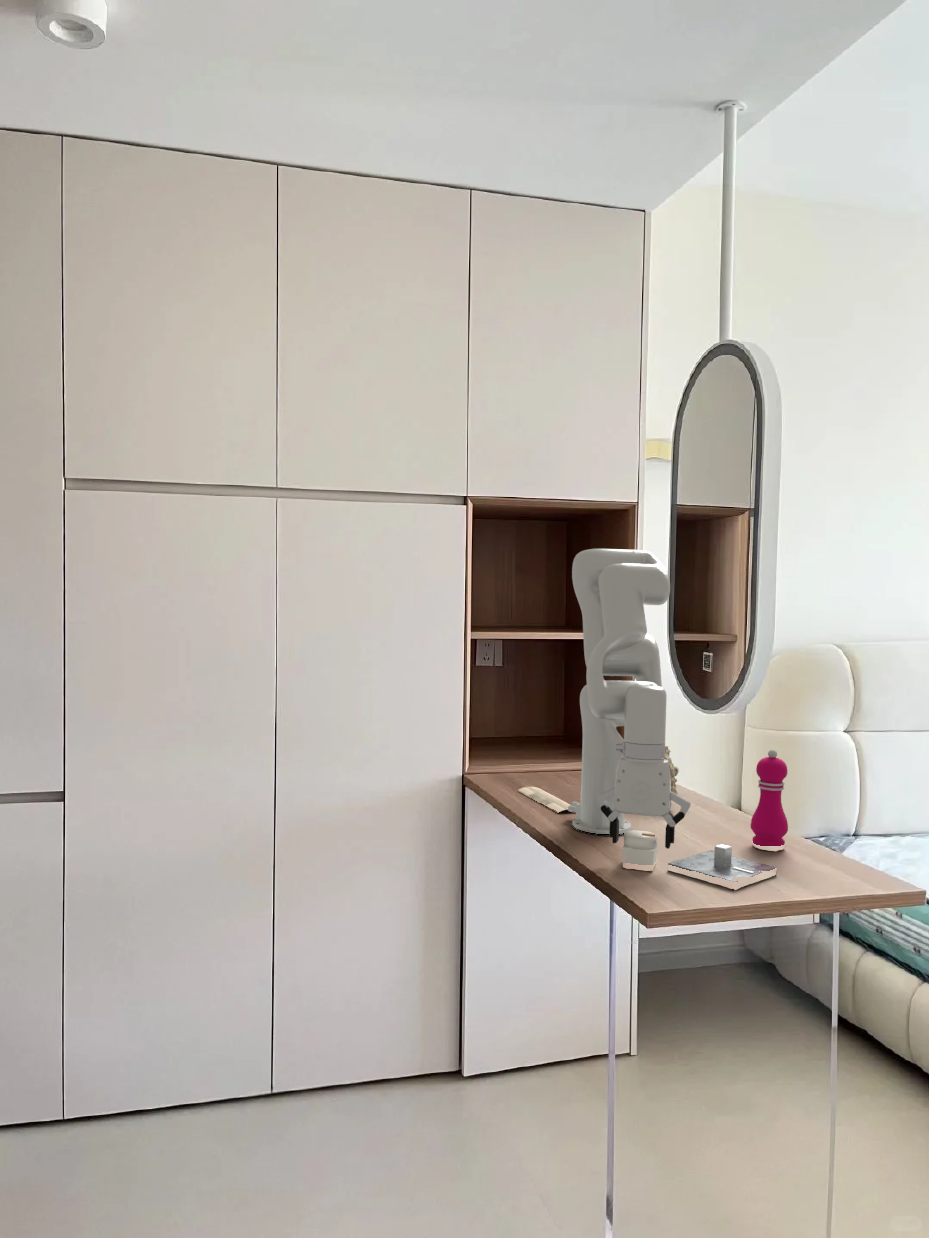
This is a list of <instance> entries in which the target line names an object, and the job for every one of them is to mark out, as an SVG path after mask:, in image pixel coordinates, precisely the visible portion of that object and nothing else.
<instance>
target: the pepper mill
mask: <svg viewBox="0 0 929 1238" xmlns="http://www.w3.org/2000/svg"><path fill="white" fill-rule="evenodd" d="M777 756H778V751H776V750H775V749H769V750H768V752H767V756H765V757H763V758H761V759H760V760H759V761H758V762H757V764H756V767H755V769H756V770H755V771H756V775H757V776H758V778H759V779H758V781H757V783H758V787H757V788H759V792H760V793H759V794H760V795H759V802H758V805H757V807H756V808H755V810H754V813H753V815H752V817H751V820H750V829H751V831H752V832H753V834H754V836H753V837H752V839H751V840H752V841H753V843H754V844H756V845H760V846H781V845H784V844H785V845H786V840H785V839H784V838H783V837H785V836H786V834H787V833H788V831H789V824H788V819H787V816H786V814H785V811H784V808H783V803H782V793H783V790H785V787H784V785H785V782H784V780H785V779H786V777H787V776H788V767H787V766H788V765H787V764H786V762H785V761H784V760H783V759H782V758H779V757H777ZM752 841H751V842H752Z"/></svg>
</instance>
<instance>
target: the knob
mask: <svg viewBox="0 0 929 1238" xmlns="http://www.w3.org/2000/svg"><path fill="white" fill-rule="evenodd" d="M657 837H658V835H657V834H656V833H654V832H651V831H646V830H640V829H638V830H637V829H636V830H634V829H633V830H631V831H626V832H625V833H624V834H623V846H622V856H621V857H622V858H621V860H622V861H621V862H623V863H631V864H638V865H654V862H655V860H656V861H657V855H658V853H657V852H658V851H657V850H658V849H657V847H658V841H657V840H658V838H657Z"/></svg>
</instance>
